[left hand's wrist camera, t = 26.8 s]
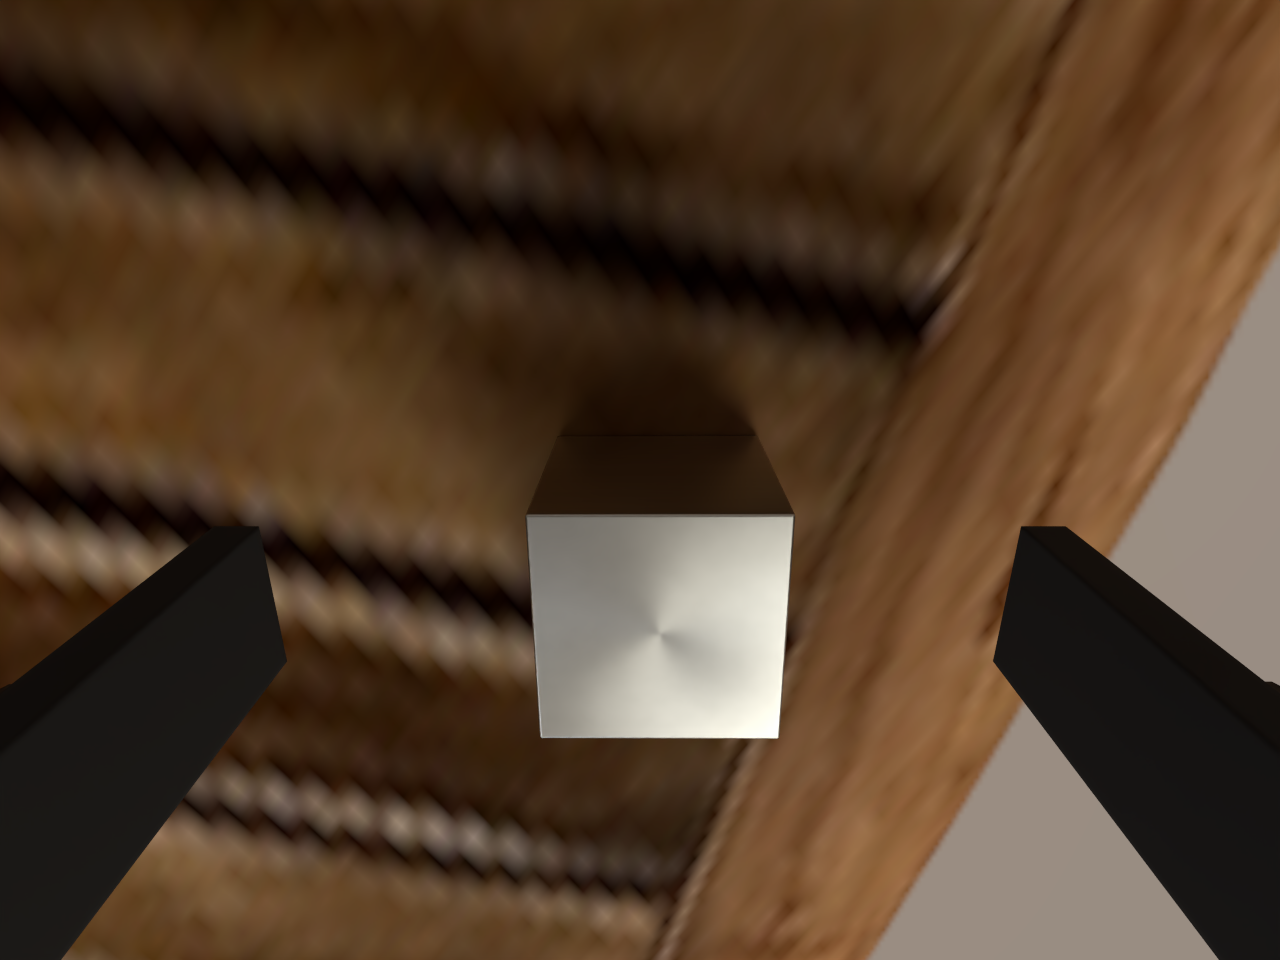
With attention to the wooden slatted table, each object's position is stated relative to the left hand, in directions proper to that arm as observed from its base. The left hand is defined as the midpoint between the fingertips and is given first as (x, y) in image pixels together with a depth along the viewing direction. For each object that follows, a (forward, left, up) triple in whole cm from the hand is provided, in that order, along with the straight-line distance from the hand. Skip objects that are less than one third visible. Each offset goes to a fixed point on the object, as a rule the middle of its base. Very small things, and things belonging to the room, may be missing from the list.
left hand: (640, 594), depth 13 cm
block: (0, -1, -4) cm, 4 cm away
